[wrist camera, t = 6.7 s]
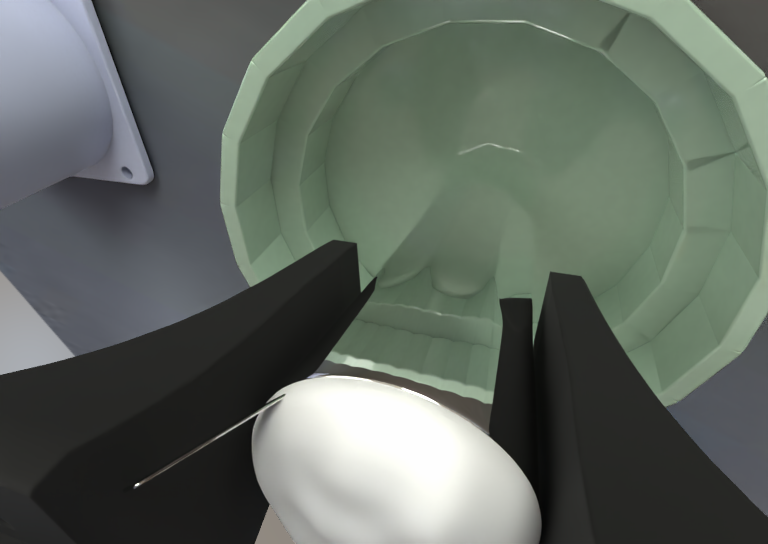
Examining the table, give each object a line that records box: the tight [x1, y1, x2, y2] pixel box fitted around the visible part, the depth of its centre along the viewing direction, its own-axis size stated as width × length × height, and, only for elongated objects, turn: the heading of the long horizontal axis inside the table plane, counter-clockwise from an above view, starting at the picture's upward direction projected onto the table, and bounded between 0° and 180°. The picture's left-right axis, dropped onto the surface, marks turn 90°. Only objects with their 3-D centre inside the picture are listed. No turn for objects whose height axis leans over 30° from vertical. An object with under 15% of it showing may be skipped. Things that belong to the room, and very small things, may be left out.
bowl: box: [220, 0, 768, 407], centre depth 13 cm, size 13×13×4 cm
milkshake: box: [123, 181, 542, 544], centre depth 9 cm, size 4×5×10 cm
